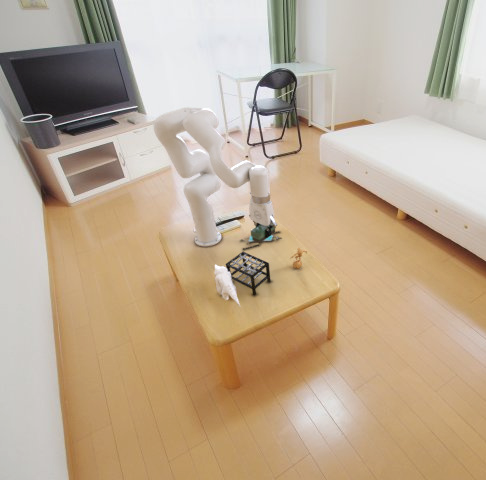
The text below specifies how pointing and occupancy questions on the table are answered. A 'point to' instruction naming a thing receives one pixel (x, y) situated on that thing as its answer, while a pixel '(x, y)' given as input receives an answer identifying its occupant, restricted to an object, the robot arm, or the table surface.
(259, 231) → the teal sanding sponge
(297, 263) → the figurine
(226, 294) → the dinosaur statue
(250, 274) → the rack
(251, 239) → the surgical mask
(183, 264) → the table surface
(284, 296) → the table surface
